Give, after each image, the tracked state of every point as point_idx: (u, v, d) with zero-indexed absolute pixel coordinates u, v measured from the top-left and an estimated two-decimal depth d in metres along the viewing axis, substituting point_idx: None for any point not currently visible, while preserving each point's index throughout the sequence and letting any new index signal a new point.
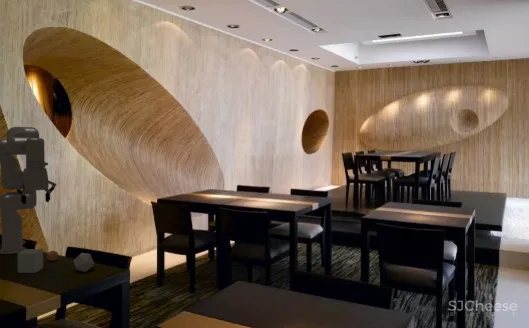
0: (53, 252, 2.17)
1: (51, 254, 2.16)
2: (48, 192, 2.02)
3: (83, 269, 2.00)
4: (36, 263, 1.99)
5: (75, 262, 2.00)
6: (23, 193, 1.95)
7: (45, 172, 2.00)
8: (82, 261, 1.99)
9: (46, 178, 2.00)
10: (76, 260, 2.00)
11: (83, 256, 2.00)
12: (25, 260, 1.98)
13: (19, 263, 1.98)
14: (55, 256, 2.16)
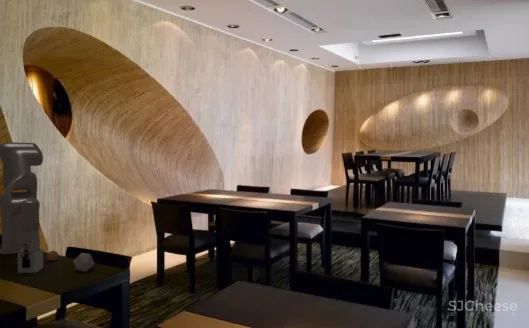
0: (53, 252, 2.17)
1: (51, 254, 2.16)
2: None
3: (83, 269, 2.00)
4: (36, 263, 1.99)
5: (75, 262, 2.00)
6: (28, 257, 1.97)
7: (38, 232, 2.05)
8: (82, 261, 1.99)
9: (39, 238, 2.05)
10: (76, 260, 2.00)
11: (83, 256, 2.00)
12: None
13: (19, 263, 1.98)
14: (55, 256, 2.16)
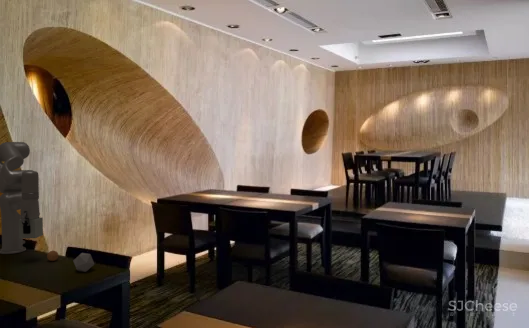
0: (53, 252, 2.17)
1: (51, 254, 2.16)
2: None
3: (83, 269, 2.00)
4: (36, 229, 2.14)
5: (75, 262, 2.00)
6: (28, 223, 2.12)
7: (38, 202, 2.19)
8: (82, 261, 1.99)
9: (38, 207, 2.20)
10: (76, 260, 2.00)
11: (83, 256, 2.00)
12: None
13: (20, 229, 2.12)
14: (55, 256, 2.16)
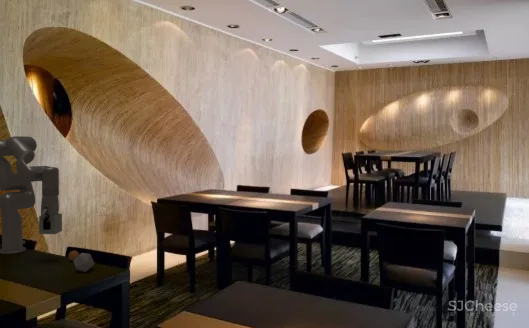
0: None
1: (70, 258, 2.16)
2: None
3: (83, 269, 2.00)
4: (56, 225, 2.14)
5: (75, 262, 2.00)
6: (49, 219, 2.12)
7: None
8: (82, 261, 1.99)
9: (58, 203, 2.20)
10: (76, 260, 2.00)
11: (83, 256, 2.00)
12: None
13: (40, 225, 2.13)
14: (70, 253, 2.17)
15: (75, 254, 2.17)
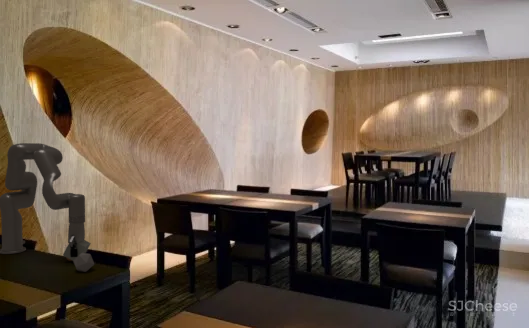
0: None
1: (68, 259, 2.16)
2: None
3: (83, 269, 2.00)
4: None
5: (75, 262, 2.00)
6: (76, 247, 2.13)
7: None
8: (82, 261, 1.99)
9: (84, 229, 2.21)
10: (76, 260, 2.00)
11: (83, 256, 2.00)
12: None
13: (68, 248, 2.14)
14: None
15: None
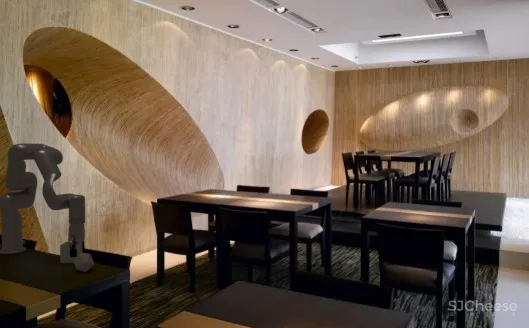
0: None
1: None
2: (83, 242, 2.23)
3: (83, 269, 2.00)
4: (77, 254, 2.15)
5: (75, 262, 2.00)
6: (75, 247, 2.13)
7: None
8: (82, 261, 1.99)
9: (84, 230, 2.22)
10: (76, 260, 2.00)
11: (83, 256, 2.00)
12: (67, 251, 2.14)
13: (61, 254, 2.14)
14: None
15: None
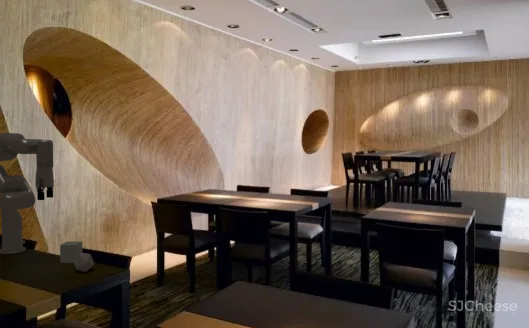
0: None
1: None
2: (52, 188, 2.25)
3: (83, 269, 2.00)
4: (77, 254, 2.15)
5: (75, 262, 2.00)
6: (43, 190, 2.14)
7: (52, 170, 2.23)
8: (82, 261, 1.99)
9: None
10: (76, 260, 2.00)
11: (83, 256, 2.00)
12: (67, 251, 2.14)
13: (61, 254, 2.14)
14: None
15: None
